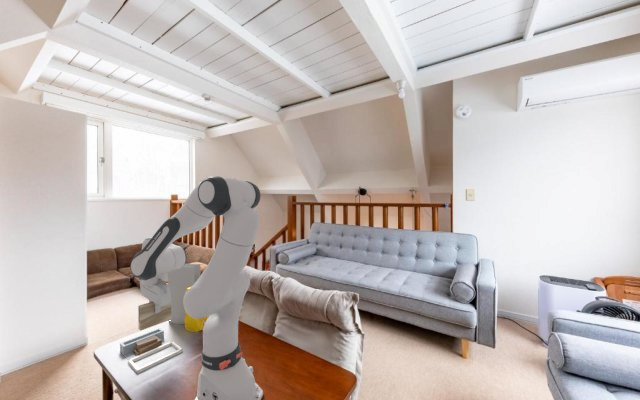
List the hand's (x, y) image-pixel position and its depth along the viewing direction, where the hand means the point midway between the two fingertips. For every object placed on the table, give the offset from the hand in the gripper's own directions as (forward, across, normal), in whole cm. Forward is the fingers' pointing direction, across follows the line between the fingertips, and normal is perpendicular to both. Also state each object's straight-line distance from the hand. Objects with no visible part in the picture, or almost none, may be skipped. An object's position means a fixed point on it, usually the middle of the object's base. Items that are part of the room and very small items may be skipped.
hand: (155, 311), depth 101 cm
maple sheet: (+5, 0, 0) cm, 5 cm away
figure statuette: (+20, +9, -20) cm, 30 cm away
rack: (+20, +11, 0) cm, 22 cm away
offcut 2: (+17, +8, 0) cm, 19 cm away
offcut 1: (+16, +9, 0) cm, 18 cm away
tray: (+20, 0, 0) cm, 20 cm away
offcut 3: (+19, +9, 0) cm, 21 cm away
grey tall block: (+20, +21, -21) cm, 36 cm away
